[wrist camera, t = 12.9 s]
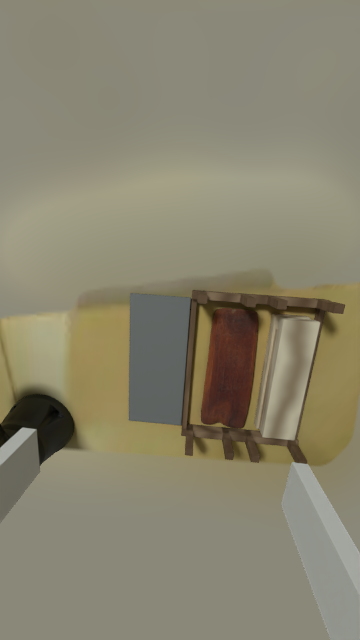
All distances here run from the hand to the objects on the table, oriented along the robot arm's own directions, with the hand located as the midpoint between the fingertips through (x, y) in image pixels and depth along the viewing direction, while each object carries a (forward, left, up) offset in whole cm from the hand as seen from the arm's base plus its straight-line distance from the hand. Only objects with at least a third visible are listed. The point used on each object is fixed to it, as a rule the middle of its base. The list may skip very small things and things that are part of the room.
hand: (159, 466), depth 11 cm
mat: (-5, -10, -33) cm, 35 cm away
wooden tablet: (+5, -10, -33) cm, 35 cm away
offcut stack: (+20, -10, -33) cm, 40 cm away
